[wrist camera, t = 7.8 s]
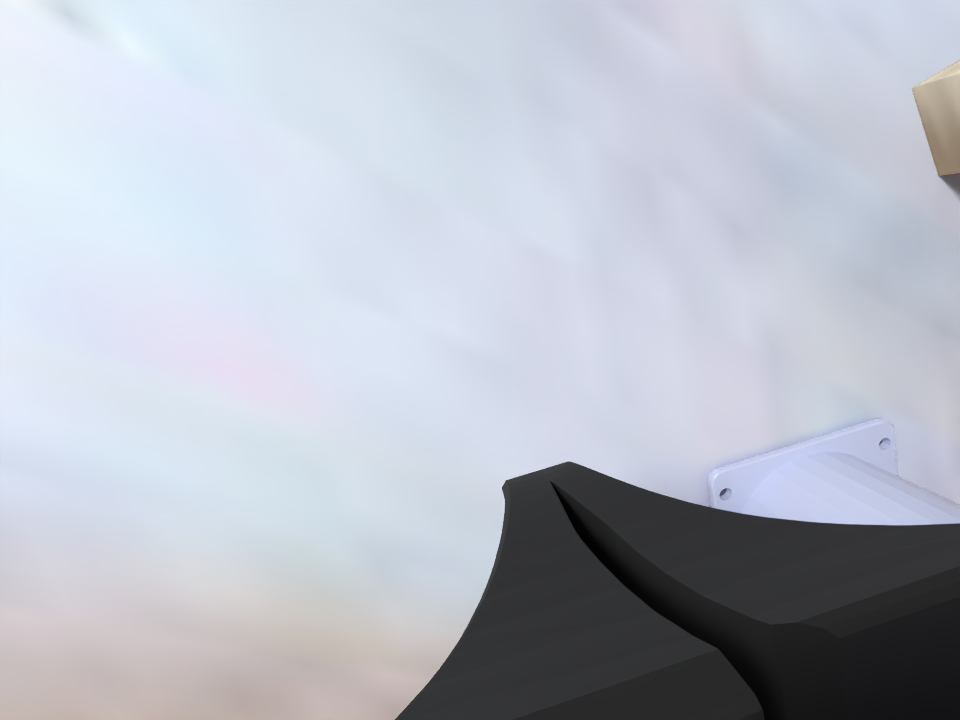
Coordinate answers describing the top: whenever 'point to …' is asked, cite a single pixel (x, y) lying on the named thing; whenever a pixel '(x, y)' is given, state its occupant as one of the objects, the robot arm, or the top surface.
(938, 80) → the maple block
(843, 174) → the top surface
